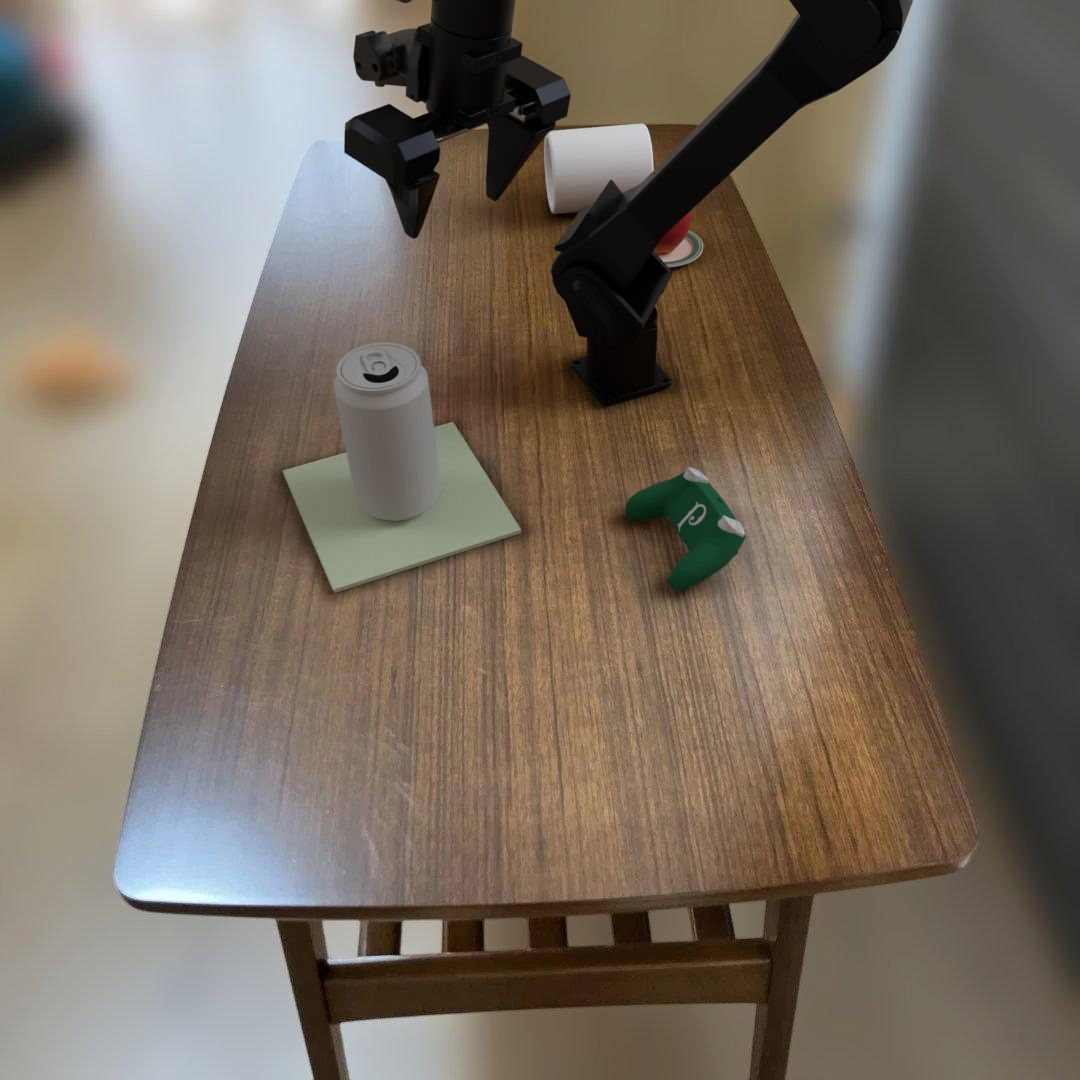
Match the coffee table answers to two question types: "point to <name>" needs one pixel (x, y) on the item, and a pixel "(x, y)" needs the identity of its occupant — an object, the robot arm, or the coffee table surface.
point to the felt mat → (394, 546)
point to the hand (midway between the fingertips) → (452, 216)
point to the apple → (679, 244)
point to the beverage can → (388, 430)
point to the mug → (594, 163)
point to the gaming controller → (691, 524)
